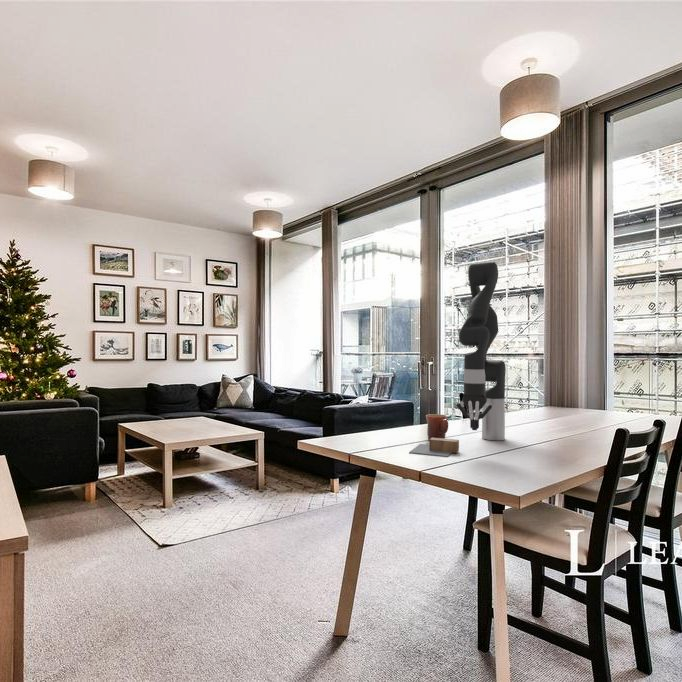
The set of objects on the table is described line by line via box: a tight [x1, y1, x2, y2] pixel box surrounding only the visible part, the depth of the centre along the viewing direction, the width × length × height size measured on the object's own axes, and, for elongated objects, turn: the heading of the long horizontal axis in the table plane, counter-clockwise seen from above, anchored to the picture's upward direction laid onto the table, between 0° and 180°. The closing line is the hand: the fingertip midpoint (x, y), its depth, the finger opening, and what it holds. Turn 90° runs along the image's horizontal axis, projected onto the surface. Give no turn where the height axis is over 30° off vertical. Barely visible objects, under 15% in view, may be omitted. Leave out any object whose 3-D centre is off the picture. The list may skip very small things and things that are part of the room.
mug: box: [425, 413, 449, 440], centre depth 191 cm, size 12×9×10 cm
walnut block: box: [428, 438, 460, 454], centre depth 172 cm, size 4×4×10 cm
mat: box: [408, 443, 453, 458], centre depth 173 cm, size 16×14×1 cm
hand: (474, 429), depth 167 cm, fingers closed
